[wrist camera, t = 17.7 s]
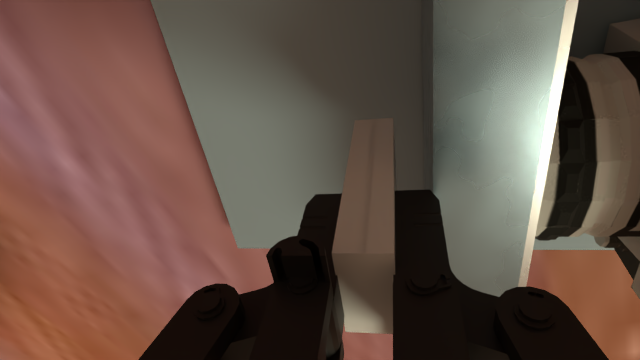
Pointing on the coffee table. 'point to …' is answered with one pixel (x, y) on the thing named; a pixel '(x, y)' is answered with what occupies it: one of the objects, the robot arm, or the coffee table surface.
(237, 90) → the vise
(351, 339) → the coffee table surface
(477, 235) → the sliding jaw
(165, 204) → the coffee table surface
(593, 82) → the camera
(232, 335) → the robot arm
